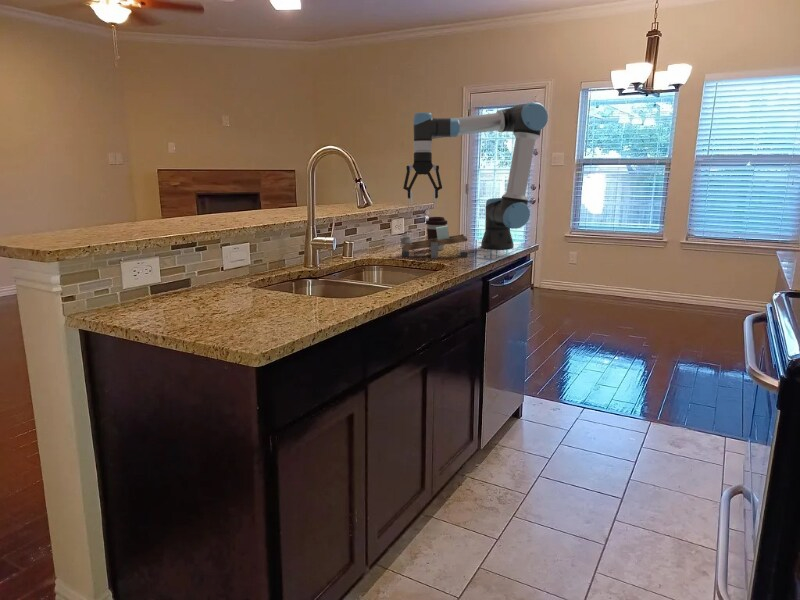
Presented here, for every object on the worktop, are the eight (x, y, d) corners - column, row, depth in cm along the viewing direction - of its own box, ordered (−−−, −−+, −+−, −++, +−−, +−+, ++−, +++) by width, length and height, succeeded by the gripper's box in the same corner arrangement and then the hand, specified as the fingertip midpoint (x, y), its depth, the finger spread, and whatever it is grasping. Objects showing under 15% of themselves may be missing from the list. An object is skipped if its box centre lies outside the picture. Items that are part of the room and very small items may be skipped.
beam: (466, 239, 245) (464, 225, 244) (467, 241, 237) (465, 228, 235) (403, 248, 248) (401, 236, 246) (402, 251, 239) (400, 238, 238)
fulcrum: (466, 254, 248) (466, 238, 247) (467, 258, 237) (467, 242, 235) (403, 254, 250) (402, 238, 248) (401, 258, 238) (401, 242, 237)
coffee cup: (423, 250, 259) (423, 218, 256) (428, 247, 269) (428, 216, 265) (444, 251, 257) (444, 218, 253) (449, 248, 266) (449, 216, 262)
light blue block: (449, 239, 243) (447, 225, 242) (449, 240, 239) (447, 226, 238) (438, 240, 244) (436, 227, 243) (438, 242, 239) (436, 228, 238)
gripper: (448, 151, 236) (448, 205, 242) (397, 152, 238) (397, 205, 243) (449, 151, 229) (448, 206, 234) (396, 151, 230) (396, 207, 236)
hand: (422, 206), depth 239 cm, fingers open, 9 cm apart
